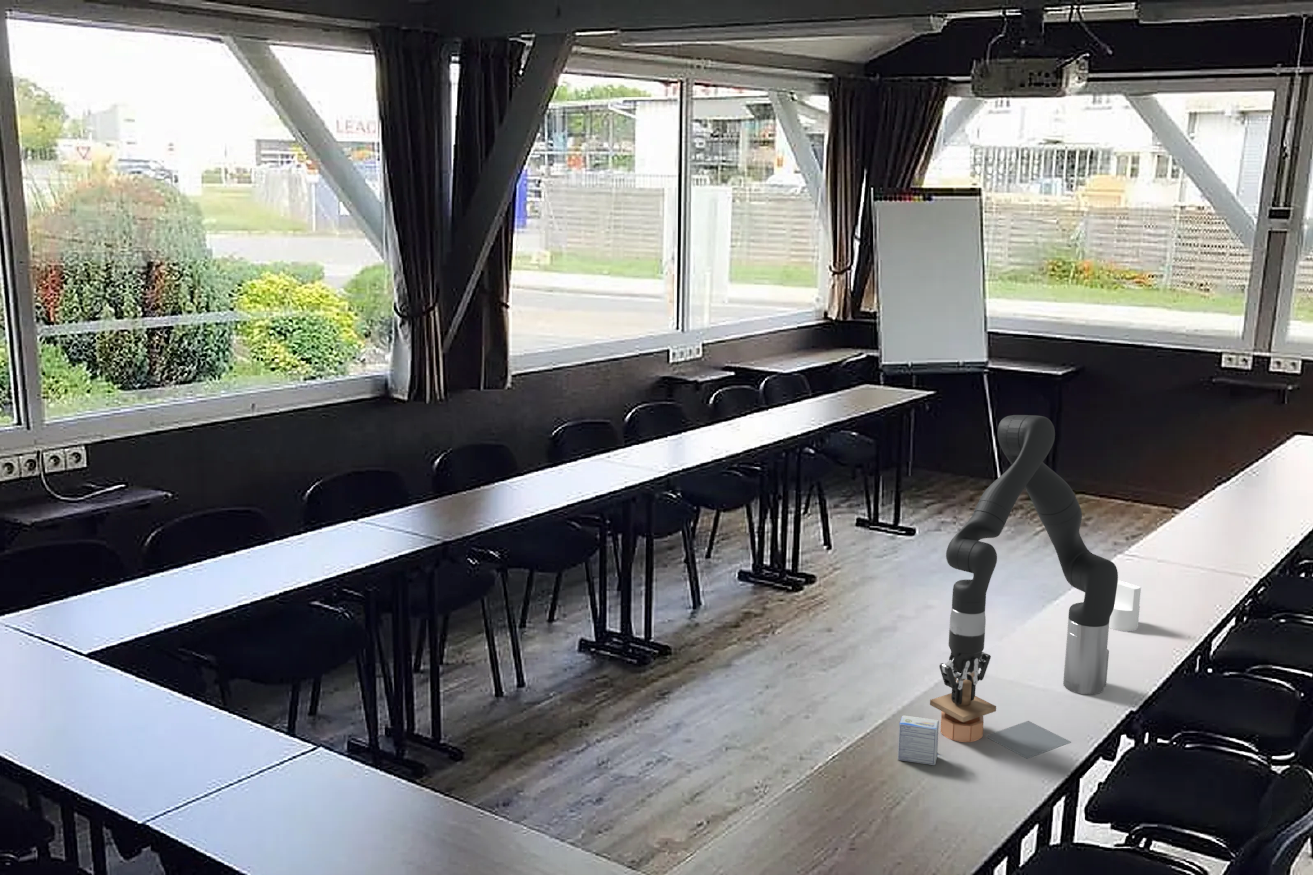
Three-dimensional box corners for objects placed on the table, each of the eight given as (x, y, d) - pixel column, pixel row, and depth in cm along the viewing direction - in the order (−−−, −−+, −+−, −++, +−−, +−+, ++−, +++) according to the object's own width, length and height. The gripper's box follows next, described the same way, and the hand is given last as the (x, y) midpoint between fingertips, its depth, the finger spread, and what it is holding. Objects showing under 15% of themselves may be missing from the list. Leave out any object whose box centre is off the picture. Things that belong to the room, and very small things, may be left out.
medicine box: (937, 756, 254) (939, 719, 252) (935, 766, 250) (937, 728, 248) (900, 751, 257) (901, 714, 255) (897, 760, 253) (899, 723, 251)
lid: (962, 694, 270) (963, 669, 268) (995, 711, 261) (997, 685, 260) (929, 704, 265) (931, 679, 263) (963, 722, 256) (964, 695, 255)
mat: (1028, 722, 270) (1028, 720, 270) (1071, 744, 260) (1071, 741, 260) (984, 738, 262) (984, 736, 262) (1026, 760, 253) (1027, 758, 252)
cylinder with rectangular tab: (1144, 626, 325) (1148, 585, 322) (1124, 634, 320) (1128, 591, 317) (1115, 616, 332) (1119, 576, 330) (1095, 623, 327) (1099, 582, 325)
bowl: (960, 722, 270) (961, 704, 269) (990, 738, 263) (992, 719, 262) (931, 732, 266) (932, 713, 265) (961, 748, 258) (962, 729, 257)
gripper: (977, 616, 265) (973, 688, 269) (931, 629, 258) (927, 702, 262) (1003, 627, 259) (998, 700, 263) (956, 640, 252) (952, 715, 256)
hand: (962, 701), depth 263 cm, fingers closed on lid, 3 cm apart
